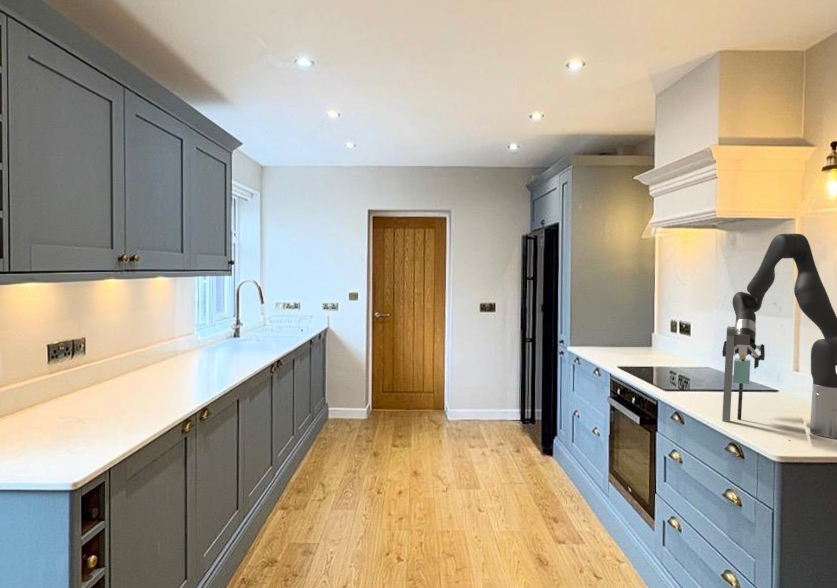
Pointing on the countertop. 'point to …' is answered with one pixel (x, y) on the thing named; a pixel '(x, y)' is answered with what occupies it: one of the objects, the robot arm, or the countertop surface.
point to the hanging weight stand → (730, 341)
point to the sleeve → (741, 371)
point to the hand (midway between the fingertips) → (742, 366)
